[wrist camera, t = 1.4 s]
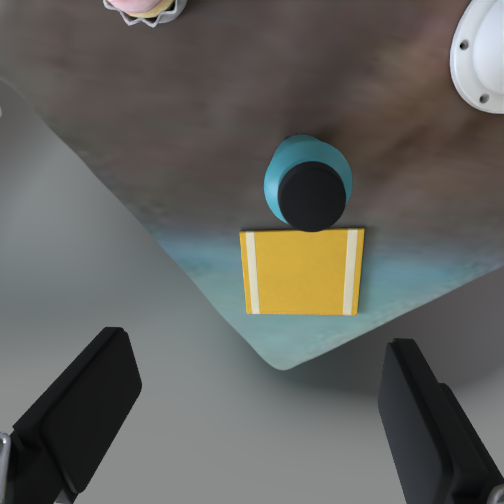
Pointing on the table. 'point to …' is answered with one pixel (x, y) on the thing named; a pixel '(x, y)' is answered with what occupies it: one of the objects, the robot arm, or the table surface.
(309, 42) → the table surface
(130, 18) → the cupcake
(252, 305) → the towel
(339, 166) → the beverage bottle
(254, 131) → the table surface
